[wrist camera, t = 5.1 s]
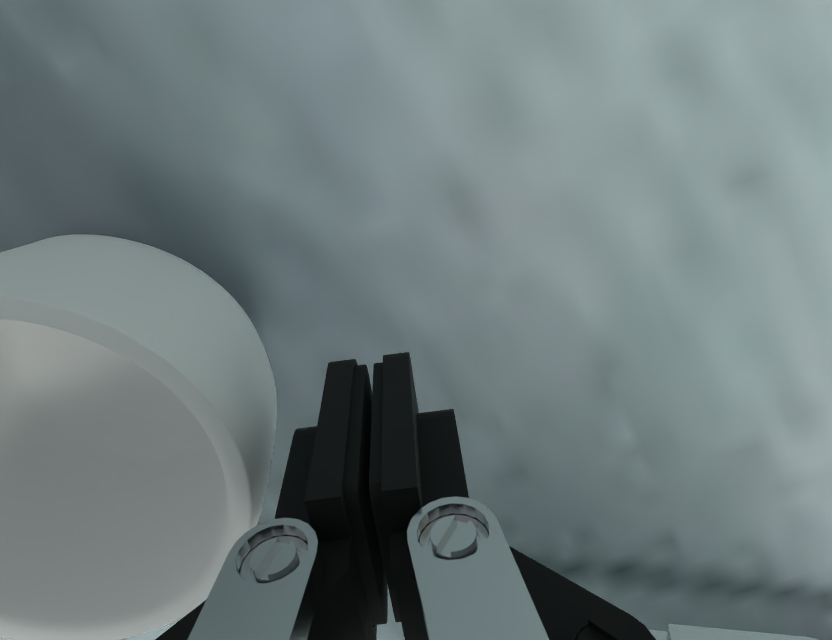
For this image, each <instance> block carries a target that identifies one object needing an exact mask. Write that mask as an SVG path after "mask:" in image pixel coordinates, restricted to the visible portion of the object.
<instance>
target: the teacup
mask: <svg viewBox="0 0 832 640" xmlns="http://www.w3.org/2000/svg"><path fill="white" fill-rule="evenodd" d="M276 421H277V395H276V387H275V381H274V376H273V372H272V368H271V365H270V362H269V359H268V356H267V353H266V351H265V348H264V346H263V344H262V341H261V339H260V337H259V335H258V333H257V331H256V329H255V327H254V325H253V324H252V322H251V320H250V319H249V317H248V316H247V314H246V313H245V311H244V310H243V309H242V307H241V306H240V305H239V304H238V303H237V301H236V300H235V299H234V298H233V297H232V296H231V295H230V294H229V293H228V292H227V291H226V290H225V289H224V288H223V287H222V286H221V285H219V284H218V283H217V282H216V281H215V280H213V279H212V278H211V277H210V276H208V275H207V274H205V273H204V272H203V271H201V270H200V269H198V268H196V267H195V266H193V265H192V264H190V263H188V262H186V261H184V260H183V259H181V258H179V257H177V256H174V255H172V254H170V253H168V252H165V251H163V250H160V249H158V248H155V247H152V246H149V245H146V244H143V243H139V242H135V241H132V240H127V239H123V238H117V237H111V236H102V235H86V234H75V235H63V236H56V237H51V238H47V239H43V240H40V241H37V242H34V243H31V244H27V245H24V246H21V247H17V248H14V249H10V250H6V251H3V252H0V638H5V639H10V640H121V639H126V638H130V637H134V636H138V635H141V634H144V633H148V632H150V631H153V630H156V629H159V628H161V627H164V626H166V625H168V624H170V623H172V622H174V621H176V620H178V619H180V618H182V617H183V616H185V615H187V614H188V613H190V612H191V611H192V610H194V609H195V608H196V607H197V606H199V605H200V604H201V603H203V602H204V601H205V600H206V599H207V597H208V595H209V593H210V591H211V589H212V587H213V585H214V583H215V581H216V578H217V576H218V574H219V572H220V570H221V568H222V566H223V564H224V562H225V559H226V557H227V555H228V553H229V552H230V550H231V548H232V547H233V545H234V544H235V542H236V541H237V540H238V539H239V538H240V537H241V536H243V535H244V534H245V533H246V532H247V531H249V530H250V529H252V528H254V527H255V526H257V523H258V521H259V518H260V514H261V511H262V507H263V504H264V499H265V495H266V490H267V485H268V480H269V474H270V468H271V462H272V455H273V448H274V440H275V432H276Z"/></svg>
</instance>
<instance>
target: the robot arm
mask: <svg viewBox="0 0 832 640" xmlns="http://www.w3.org/2000/svg"><path fill="white" fill-rule="evenodd" d="M387 583H388V588H389V593H390V597H391V602H392V607H393V612H394V616H395V621H396V622H402V627H403V632H404V637H405V640H819V639H814V638H810V637H805V636H794V635H783V634H773V633H762V632H752V631H741V630H731V629H720V628H710V627H699V626H689V625H678V624H668V629H667V631H660V630H649V629H647V628H646V626H645V625H643V624H642V623H641V622H639V621H638V620H637V619H635V618H634V617H633V616H631V615H630V614H628V613H626V612H625V611H623V610H621V609H619V608H618V607H616V606H614V605H612V604H610V603H609V602H607V601H605V600H603V599H602V598H600V597H598V596H596V595H595V594H593V593H591V592H589V591H587V590H586V589H584V588H582V587H580V586H579V585H577V584H575V583H573V582H572V581H570V580H568V579H566V578H565V577H563V576H561V575H559V574H557V573H556V572H554V571H552V570H550V569H549V568H547V567H545V566H543V565H542V564H540V563H538V562H536V561H535V560H533V559H531V558H529V557H527V556H526V555H524V554H522V553H520V552H519V551H517V550H515V549H513V548H512V547H510V546H509V545H508V543H507V541H506V538H505V536H504V534H503V531H502V529H501V527H500V524H499V522H498V520H497V518H496V517H495V515H494V514H493V512H492V511H491V510H490V509H489V508H488V507H486V506H485V505H484V504H482V503H481V502H478V501H476V500H473V499H470V498H469V496H468V490H467V484H466V479H465V473H464V467H463V461H462V455H461V449H460V444H459V438H458V432H457V426H456V420H455V415H454V410H453V409H449V410H441V411H433V412H425V413H418V406H417V400H416V393H415V386H414V380H413V373H412V366H411V359H410V354H409V352H405V353H398V354H390V355H383V362H382V363H374V369H373V394H372V390H371V384H370V379H369V374H368V369H367V366H366V365H358V366H357V362H356V360H355V359H351V360H344V361H336V362H329V363H328V368H327V373H326V379H325V385H324V391H323V396H322V402H321V408H320V414H319V420H318V425H317V426H316V427H308V428H300V429H297V430H295V433H294V435H293V440H292V444H291V448H290V453H289V457H288V462H287V466H286V470H285V475H284V479H283V484H282V488H281V492H280V497H279V501H278V506H277V510H276V514H275V519H272V520H269V521H267V522H264V523H261V524H259V525H257V526H255V527H254V528H252V529H250V530H249V531H247V532H246V533H245V534H244V535H243V536H241V537H240V538H239V539H238V540H237V541H236V542H235V544H234V545H233V547H232V548H231V550H230V552H229V553H228V555H227V557H226V559H225V562H224V564H223V566H222V568H221V570H220V572H219V574H218V576H217V578H216V581H215V583H214V585H213V587H212V589H211V591H210V593H209V595H208V597H207V599H206V600H205V601H204V602H203V603H201V604H200V605H199V606H197V607H196V608H195V609H194V610H192V611H191V612H190V613H189V614H187V615H186V616H185V617H183V618H182V619H181V620H180V621H178V622H177V623H176V624H175V625H173V626H172V627H171V628H170V629H168V630H167V631H166V632H164V633H163V634H162V635H161V636H159V637H158V638H157V639H156V640H376V634H377V625H379V624H386V623H387Z"/></svg>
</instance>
